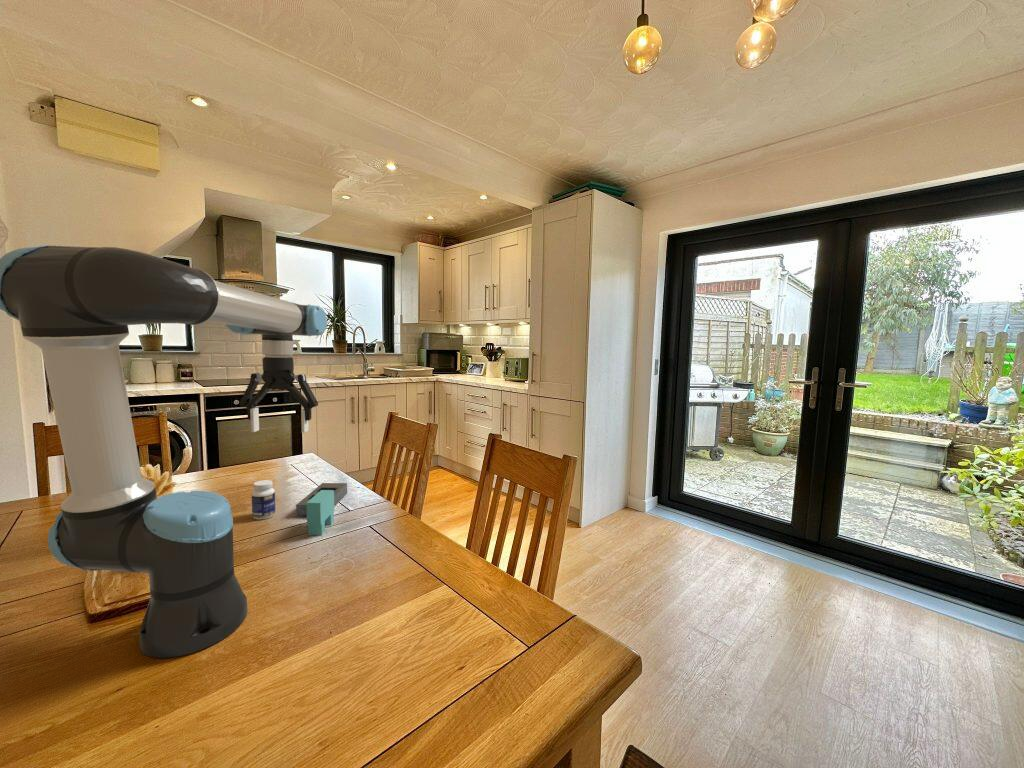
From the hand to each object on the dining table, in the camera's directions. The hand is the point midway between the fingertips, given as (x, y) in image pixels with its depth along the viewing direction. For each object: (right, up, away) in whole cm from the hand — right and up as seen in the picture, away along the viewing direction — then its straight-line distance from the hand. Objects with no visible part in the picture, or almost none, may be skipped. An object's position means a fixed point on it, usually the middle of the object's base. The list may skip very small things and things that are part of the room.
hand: (280, 431), depth 115 cm
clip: (+14, -26, -5) cm, 30 cm away
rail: (+7, -24, +11) cm, 27 cm away
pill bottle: (-6, -25, +2) cm, 25 cm away
